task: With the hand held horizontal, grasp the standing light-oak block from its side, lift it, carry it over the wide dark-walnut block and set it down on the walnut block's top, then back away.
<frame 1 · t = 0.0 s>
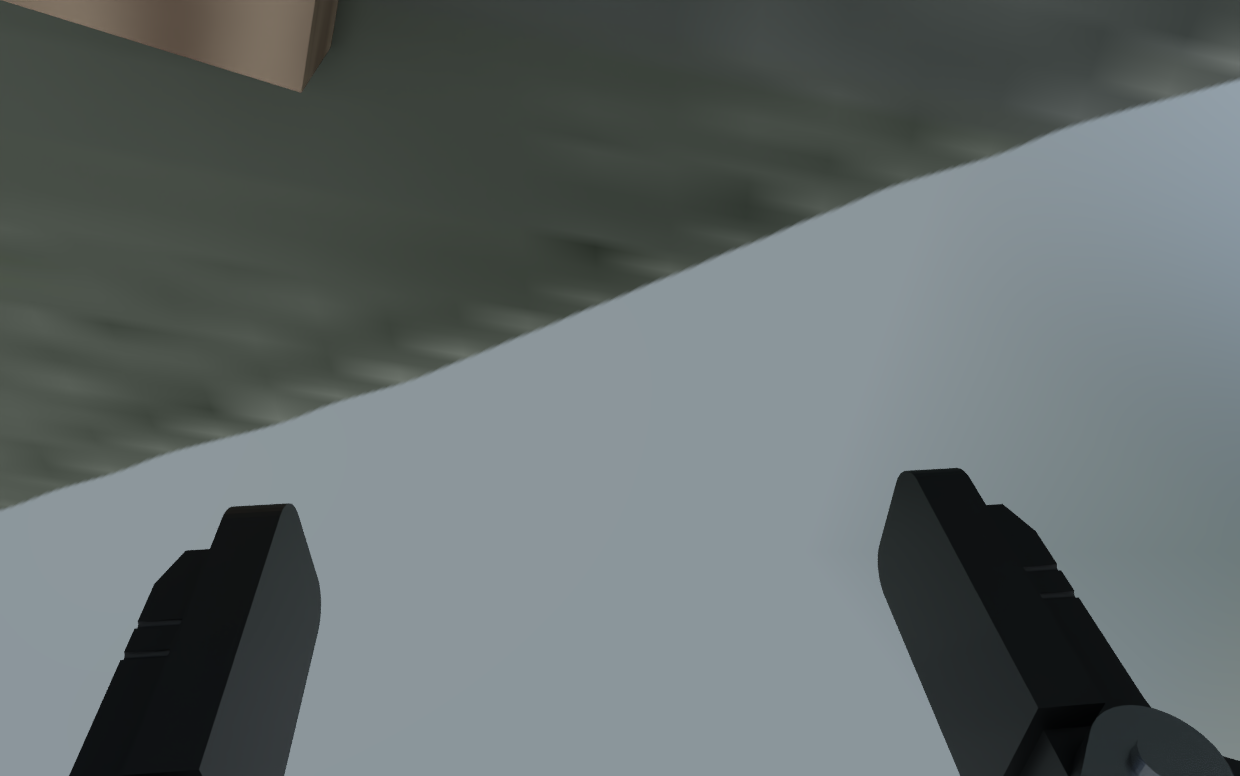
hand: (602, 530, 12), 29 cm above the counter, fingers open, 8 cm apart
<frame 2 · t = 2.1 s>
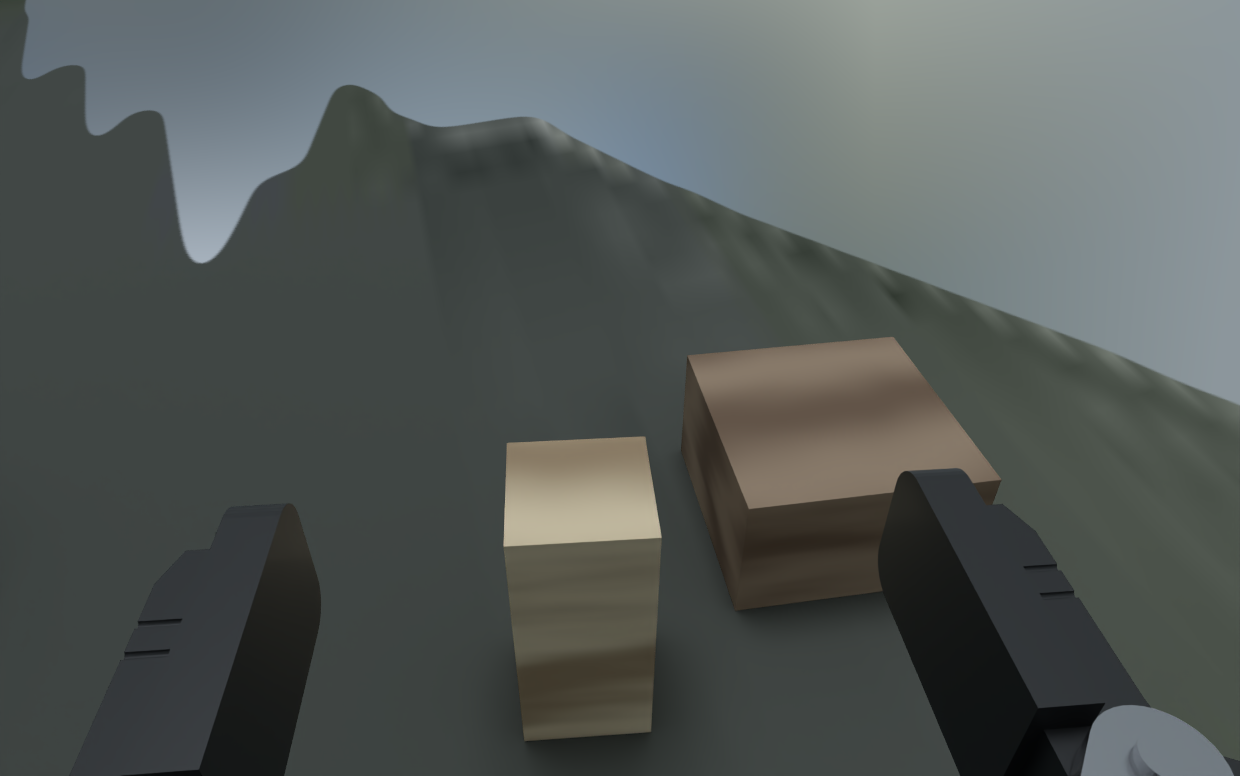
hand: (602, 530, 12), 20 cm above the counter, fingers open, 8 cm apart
walnut base: (810, 513, 40), on the counter
oak block: (584, 681, 32), on the counter
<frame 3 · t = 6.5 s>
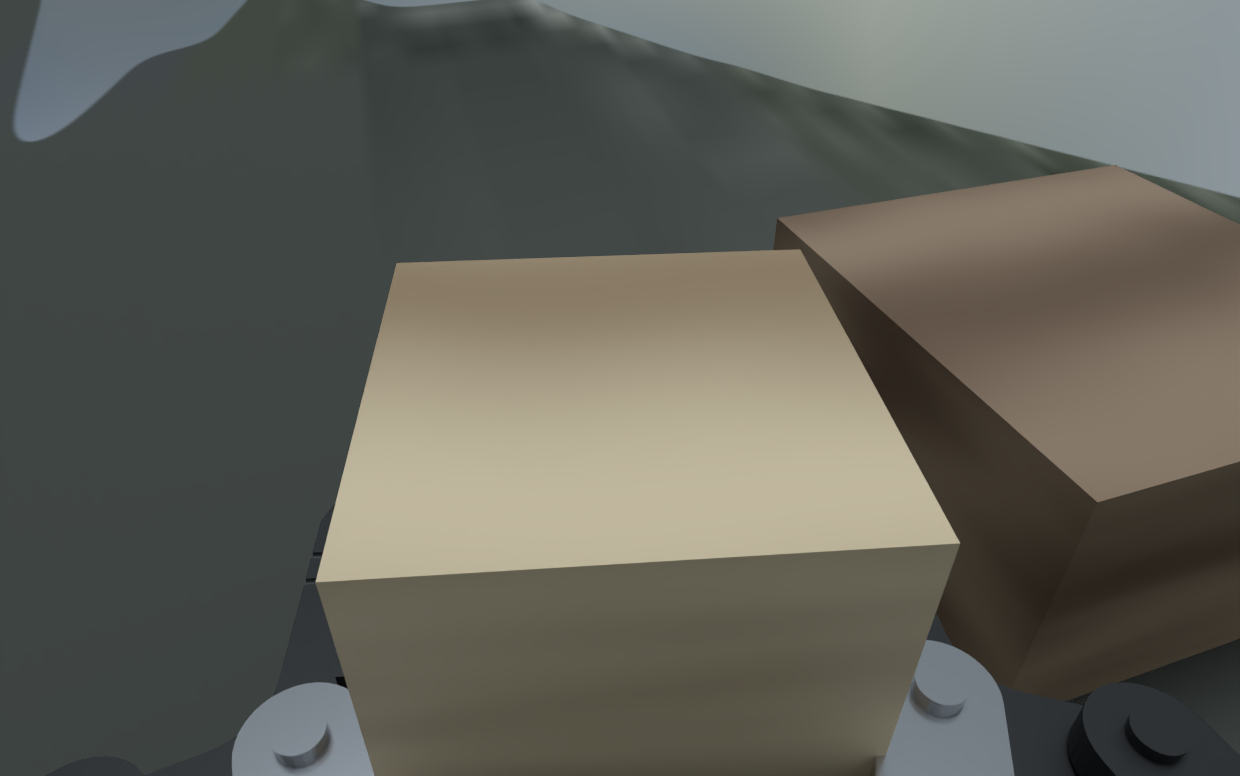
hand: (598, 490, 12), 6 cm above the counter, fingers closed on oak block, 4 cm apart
walnut base: (1025, 497, 21), on the counter
when the fingers open (14 cm above the counter, at t = 12.7 s): oak block drops 2 cm, resting on walnut base.
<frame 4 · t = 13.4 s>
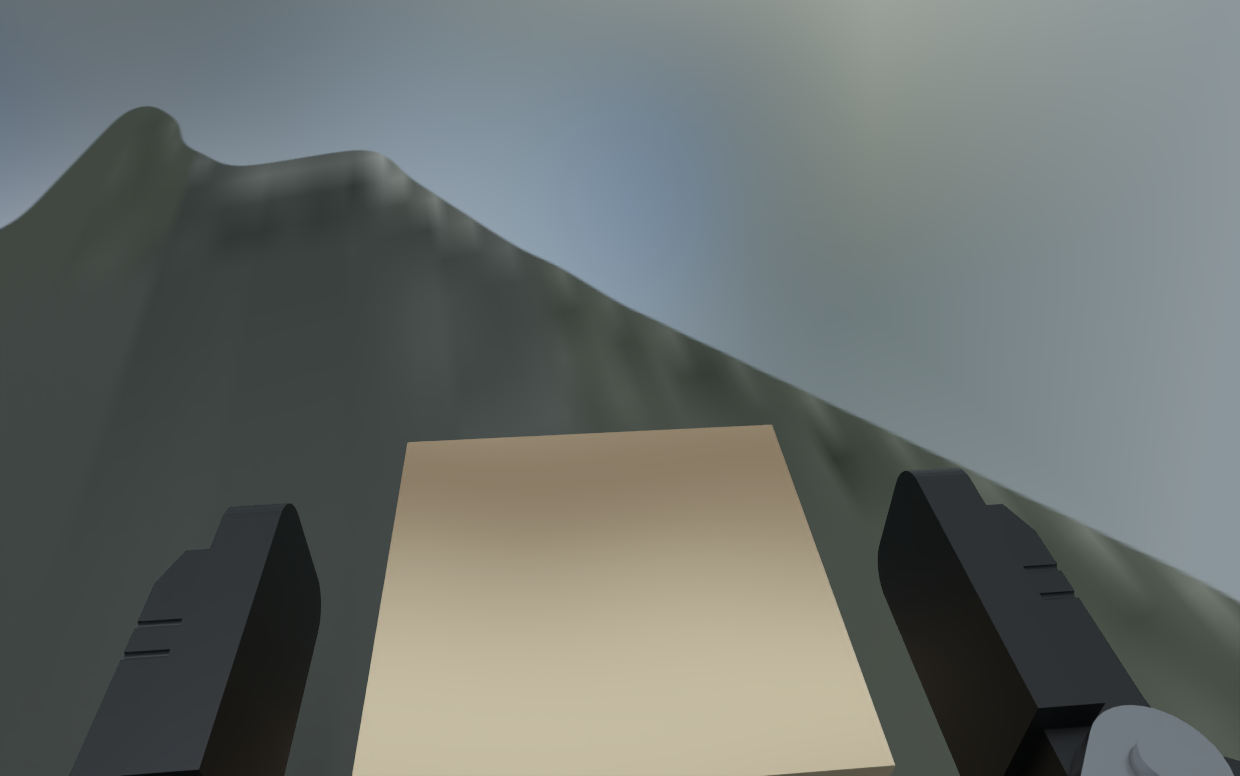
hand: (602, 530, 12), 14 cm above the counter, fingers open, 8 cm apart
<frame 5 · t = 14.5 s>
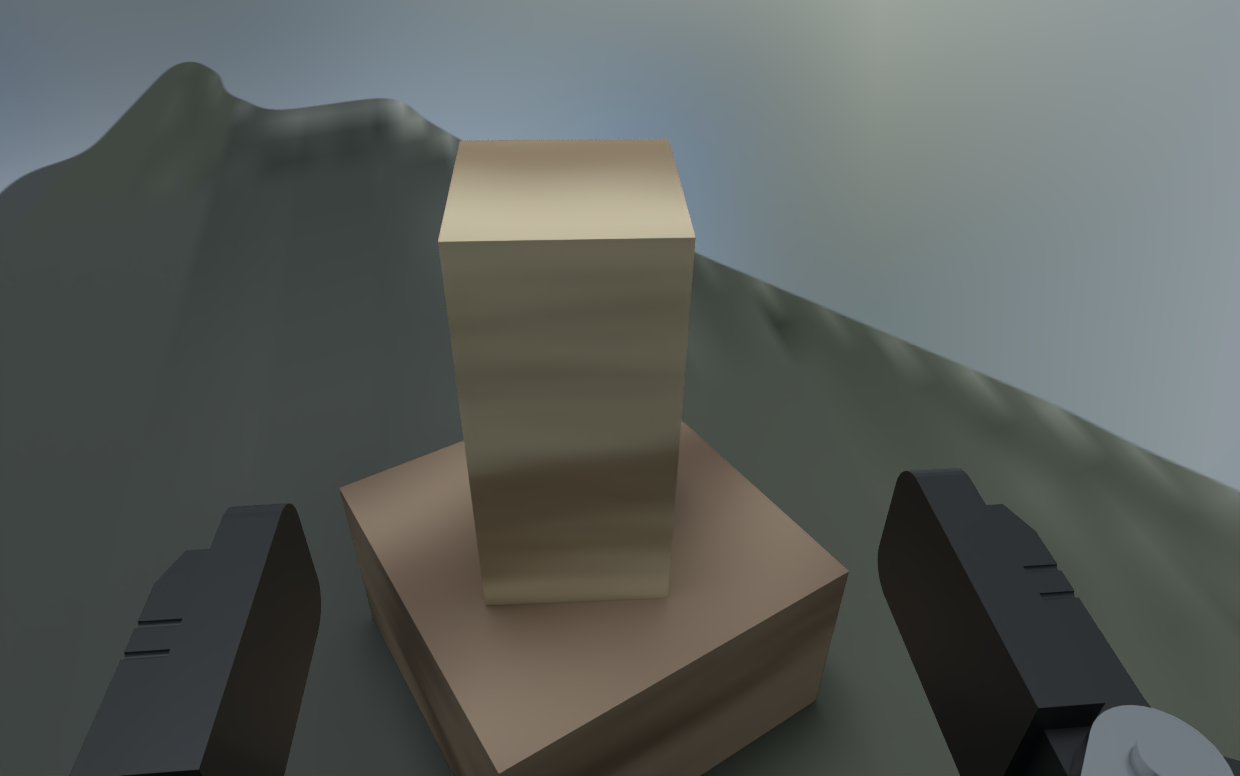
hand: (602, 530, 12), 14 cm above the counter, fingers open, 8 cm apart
walnut base: (584, 661, 27), on the counter, touching oak block
oak block: (575, 533, 23), point 6 cm above the counter, touching walnut base
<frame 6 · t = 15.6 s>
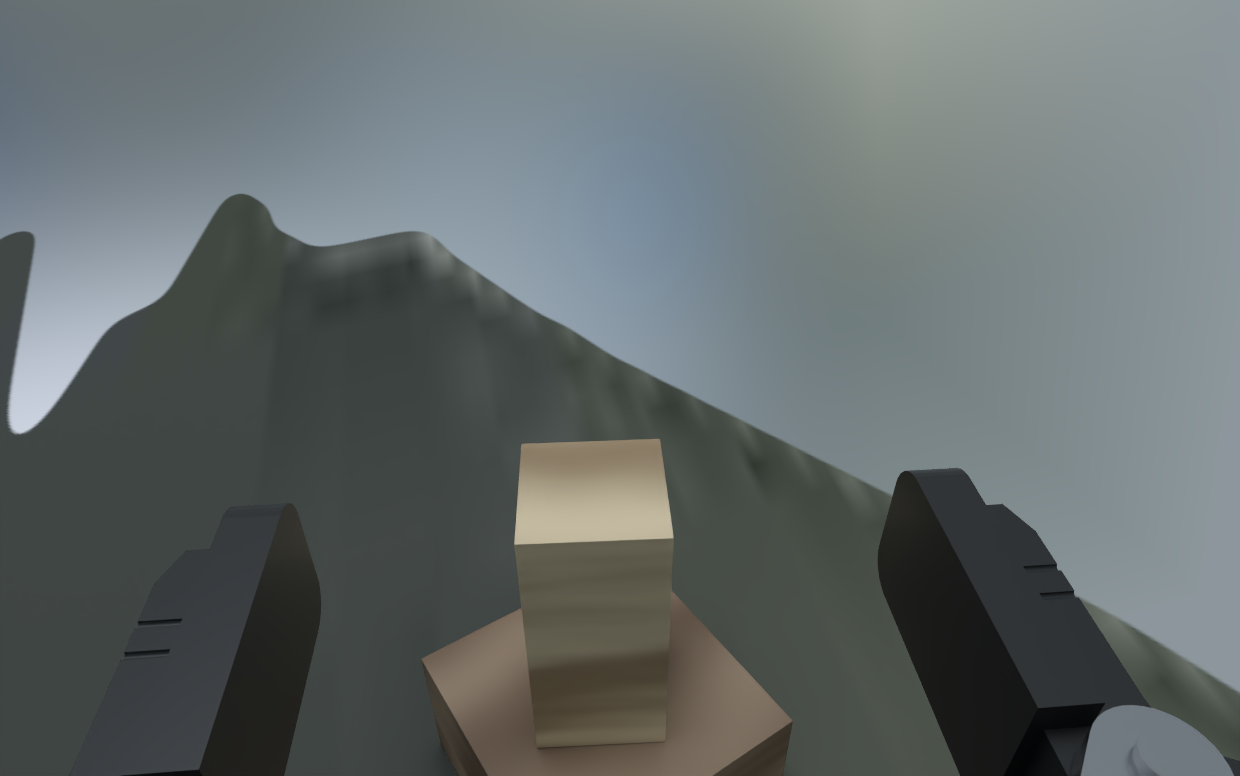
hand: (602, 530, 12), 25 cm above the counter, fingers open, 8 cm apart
oak block: (599, 689, 32), point 6 cm above the counter
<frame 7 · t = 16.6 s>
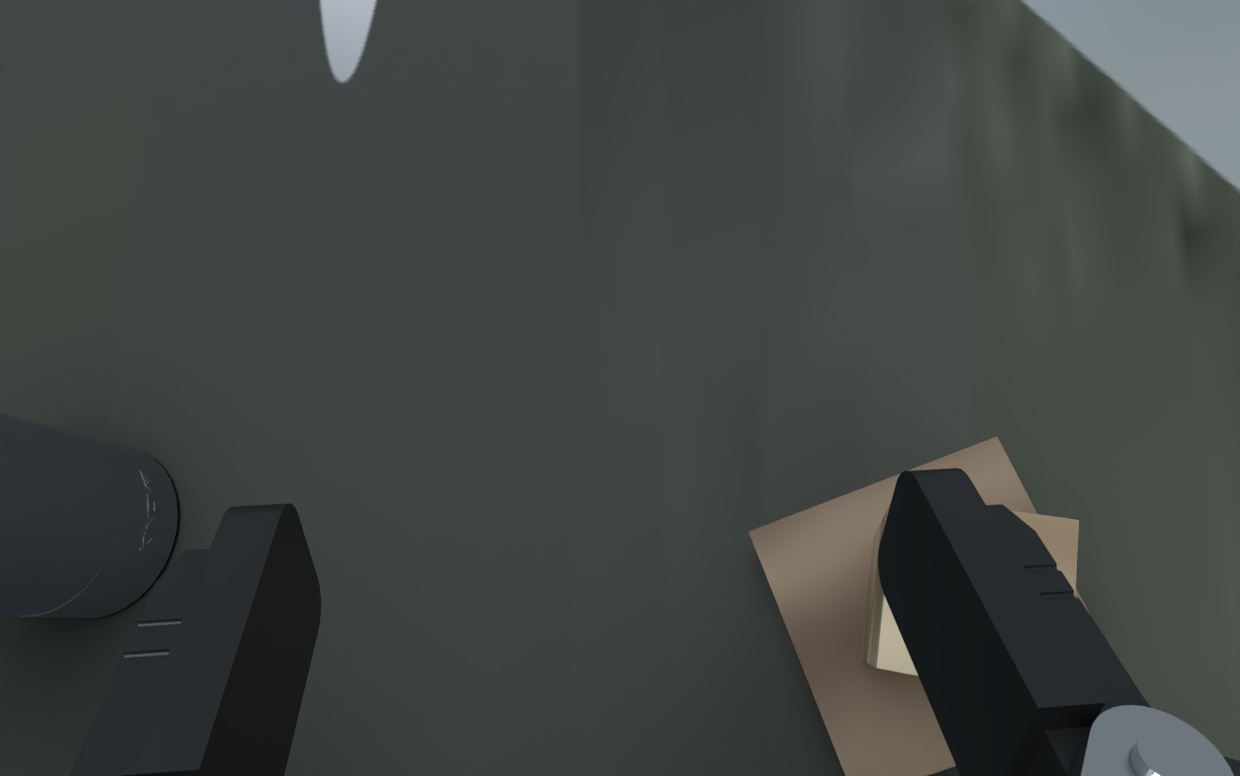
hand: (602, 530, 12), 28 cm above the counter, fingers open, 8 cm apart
walnut base: (913, 616, 37), on the counter, touching oak block
oak block: (931, 607, 31), point 6 cm above the counter, touching walnut base
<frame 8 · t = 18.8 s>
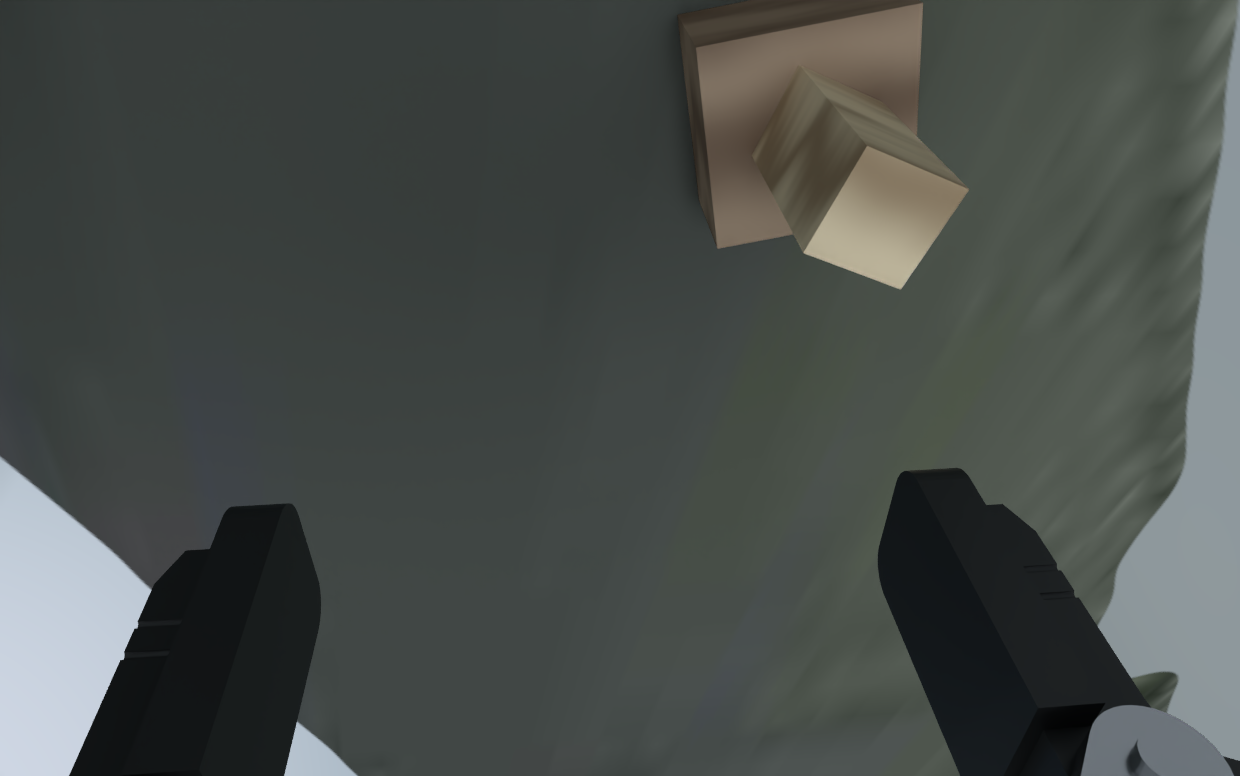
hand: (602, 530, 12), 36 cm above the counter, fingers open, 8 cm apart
walnut base: (781, 94, 45), on the counter, touching oak block
oak block: (816, 129, 40), point 6 cm above the counter, touching walnut base
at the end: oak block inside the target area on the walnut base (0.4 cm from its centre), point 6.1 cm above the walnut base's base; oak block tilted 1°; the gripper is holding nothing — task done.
